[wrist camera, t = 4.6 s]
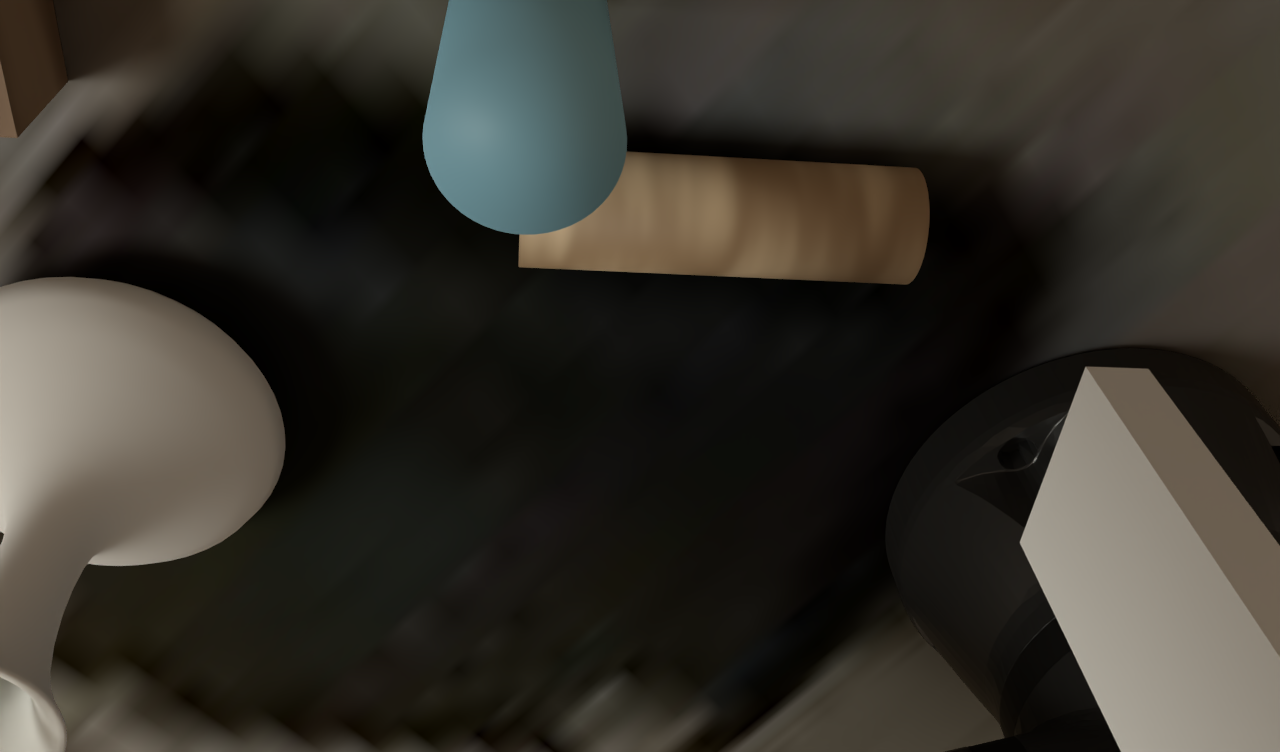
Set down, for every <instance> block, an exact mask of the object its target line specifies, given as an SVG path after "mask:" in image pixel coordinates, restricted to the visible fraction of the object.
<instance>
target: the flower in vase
mask: <svg viewBox="0 0 1280 752" xmlns="http://www.w3.org/2000/svg"><path fill="white" fill-rule="evenodd" d="M284 454H285V430H284V425H283V420H282V415H281V411H280V409H279V406H278V403H277V401H276V398H275V395H274V393H273V391H272V390H271V388H270V386H269V384H268V382H267V380H266V379H265V377H264V375H263V374H262V373H261V371H260V370H259V369H258V367H257V366H256V365H255V363H254V362H253V361H252V359H251V358H250V357H249V356H248V355H247V354H246V353H245V352H244V351H243V350H242V349H241V348H240V346H239V345H238V344H237V343H236V342H235V341H234V340H233V339H232V338H231V337H229V336H228V335H227V334H226V333H225V332H224V331H222V330H221V329H220V328H219V327H218V326H216V325H215V324H214V323H213V322H211V321H210V320H208V319H207V318H205V317H204V316H202V315H201V314H199V313H197V312H196V311H194V310H192V309H191V308H189V307H187V306H185V305H183V304H181V303H179V302H177V301H175V300H173V299H171V298H168V297H166V296H163V295H161V294H158V293H156V292H154V291H151V290H148V289H144V288H141V287H137V286H134V285H131V284H127V283H121V282H116V281H110V280H105V279H93V278H80V277H48V278H40V279H33V280H26V281H20V282H17V283H13V284H9V285H6V286H2V287H0V531H1V532H2V533H4V538H3V541H2V543H1V545H0V752H65V749H66V745H67V730H66V725H65V721H64V718H63V716H62V714H61V712H60V710H59V708H58V706H57V704H56V702H55V700H54V697H53V694H52V690H51V677H50V670H51V663H52V656H53V649H54V644H55V640H56V637H57V633H58V629H59V626H60V622H61V619H62V615H63V613H64V610H65V608H66V605H67V603H68V600H69V598H70V595H71V592H72V590H73V588H74V586H75V584H76V582H77V580H78V578H79V576H80V575H81V573H82V571H83V569H84V567H85V566H86V565H87V564H95V565H109V566H128V565H142V564H151V563H158V562H165V561H171V560H175V559H179V558H183V557H187V556H190V555H193V554H196V553H198V552H201V551H204V550H206V549H208V548H210V547H212V546H214V545H216V544H218V543H220V542H222V541H223V540H225V539H226V538H227V537H229V536H230V535H232V534H233V533H235V532H236V531H237V530H238V529H239V528H240V527H241V526H242V525H243V524H245V523H246V522H247V521H248V520H249V519H250V518H251V517H252V516H253V515H254V514H255V513H256V512H257V511H258V510H259V509H260V508H261V507H262V506H263V504H264V503H265V502H266V500H267V499H268V498H269V496H270V495H271V493H272V491H273V489H274V487H275V485H276V484H277V482H278V479H279V476H280V473H281V470H282V467H283V462H284Z"/></svg>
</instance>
